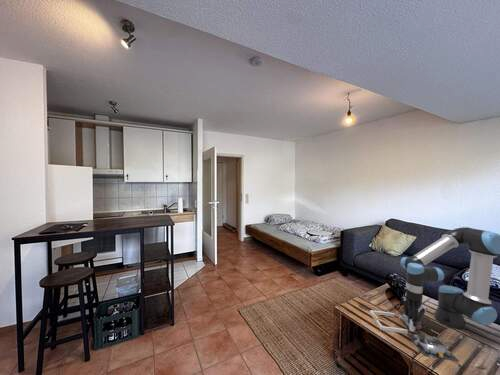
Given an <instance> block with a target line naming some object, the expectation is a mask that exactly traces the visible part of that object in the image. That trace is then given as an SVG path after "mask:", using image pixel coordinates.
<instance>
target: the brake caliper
mask: <svg viewBox="0 0 500 375" xmlns="http://www.w3.org/2000/svg"><path fill="white" fill-rule="evenodd" d="M398 317H399V318H400V319H401V320H402V322H403V323H405V325H406V327H408V328H409V326H410V324H409V323H408V316H406V315H405V313H402V315H399V316H398ZM422 328H423V327H422V323H421V322H417V327H415V330H421V329H422Z"/></svg>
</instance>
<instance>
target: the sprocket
mask: <svg viewBox="0 0 500 375" xmlns="http://www.w3.org/2000/svg"><path fill="white" fill-rule="evenodd" d="M413 335H414V338H415V339H417V340H415V343H416V345H420V346H421V347H422V348H424V349H425V351H426V352H427V353H429V352H431V353H433V354H436V355H438V356H439V357H442V358H443V355H445V354H446V355H448V356H450V352H451V351H450V350H449V345H448V344H447V343H443V342H441V341H440V340H439V339H438V337H436V336H430V335H427V334H426V333H423V332H419V334H416V333H415V334H413ZM437 339H438V340H437ZM416 345H415V346H416ZM446 349H448V350H449V351H448V350H446Z"/></svg>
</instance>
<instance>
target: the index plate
mask: <svg viewBox="0 0 500 375" xmlns="http://www.w3.org/2000/svg"><path fill="white" fill-rule="evenodd" d="M406 335H407V336H408V338H409V339H410V340H411V341H412V343H413V345H415V346H416V348H417V349H418V350H419V351H420V353H421V354H422V355H423V357H427V358H431V359H440V360H446V361H452V362H458V363H459V362H460V360H459V359H458V358H457V357H456V356H455V354H453V353H452V352H451V351H450V350H449V348H448V349H446V350H448V351H450V356H448V355H446V354H445V355H443V358H442V357H439V356H438V355H436V354H433V353H431V352H429V353H427V352H426V351H425V349H424V348H422V347H421V346H420V345H416V343H415V340H417V339H415V338H414V334H409V333H408V334H406ZM437 340H439V338H437Z"/></svg>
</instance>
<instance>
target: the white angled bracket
mask: <svg viewBox="0 0 500 375" xmlns="http://www.w3.org/2000/svg"><path fill="white" fill-rule="evenodd" d="M369 314H370V316H371V317H372V319H373V320H374V322H375V323H376V325H377V326H378V328H379V329H380V331H385V332H393V333H400V334H406V335H407V334H409V329H406V328H401V327H400V328H399V327H398V328H397V327H394V326H393V327H391V326H384V325H382V324H381V322H380V320H379V317H378V315H385V316H384V317H386V316H391V317H390V318H395V313H394V312H388V311H379V310H371V309H370V310H369Z"/></svg>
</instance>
